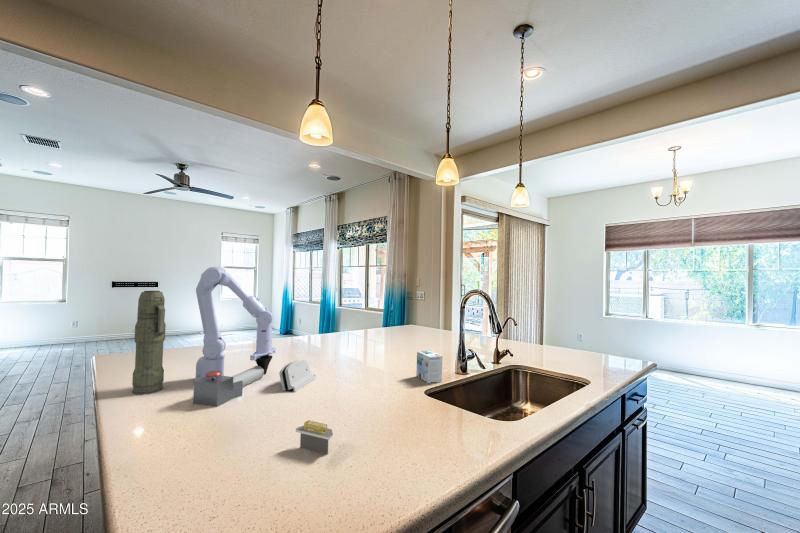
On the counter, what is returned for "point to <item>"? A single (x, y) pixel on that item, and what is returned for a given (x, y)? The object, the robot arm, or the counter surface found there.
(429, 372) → the light bulb box
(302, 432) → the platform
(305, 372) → the white rounded casing
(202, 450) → the counter surface
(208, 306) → the robot arm
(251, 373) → the tube
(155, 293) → the thermos
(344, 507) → the counter surface
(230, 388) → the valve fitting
